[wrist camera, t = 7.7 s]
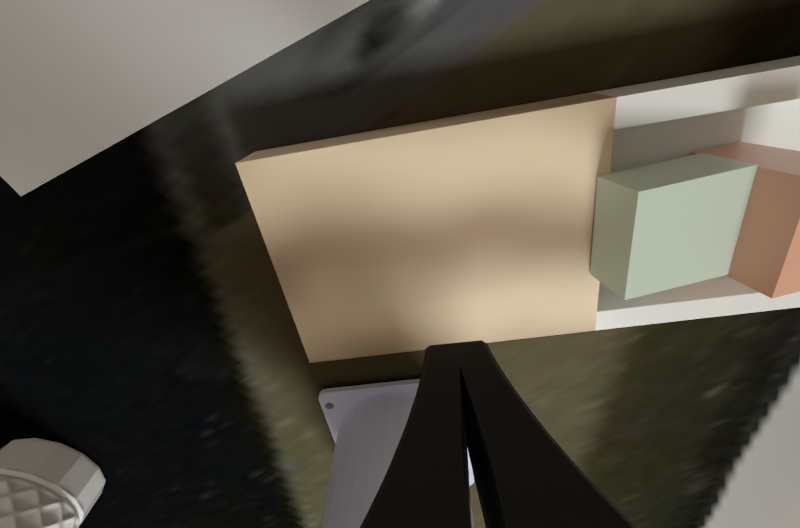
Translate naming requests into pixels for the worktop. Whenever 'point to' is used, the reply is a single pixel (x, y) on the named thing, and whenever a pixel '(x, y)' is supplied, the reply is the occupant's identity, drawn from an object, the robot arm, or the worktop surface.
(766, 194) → the terracotta tile
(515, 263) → the wooden board
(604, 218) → the sage tile
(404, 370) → the worktop surface
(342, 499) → the robot arm
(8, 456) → the white cup
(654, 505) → the worktop surface
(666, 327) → the worktop surface
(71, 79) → the kitchen cleaver
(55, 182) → the worktop surface
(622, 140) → the grey tray
